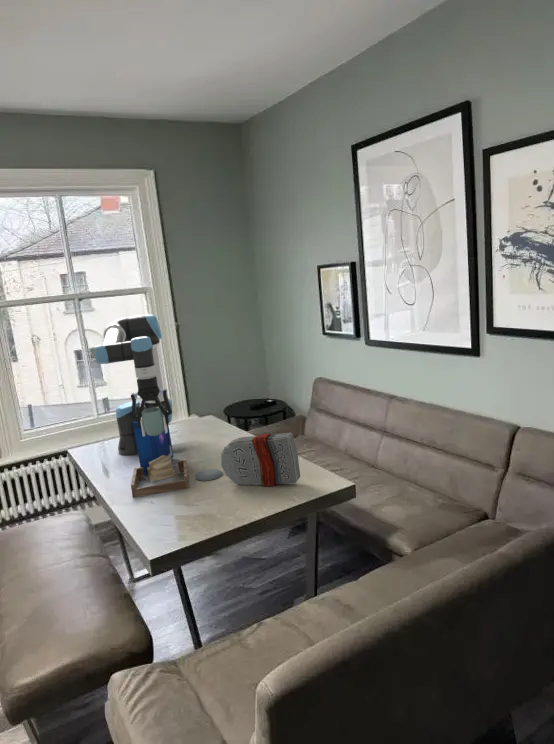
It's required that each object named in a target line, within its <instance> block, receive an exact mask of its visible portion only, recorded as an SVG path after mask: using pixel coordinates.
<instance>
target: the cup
mask: <svg viewBox="0 0 554 744" xmlns="http://www.w3.org/2000/svg"><path fill="white" fill-rule="evenodd" d="M142 421H143V426H144V429H145V432H146V433H147V435H149V436H157V435H160V434H161V433H162V432H163V430H164V422H163V413H162V411H161V410H160V408H159V407H153V408H148V409H145V410H143V411H142Z"/></svg>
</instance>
